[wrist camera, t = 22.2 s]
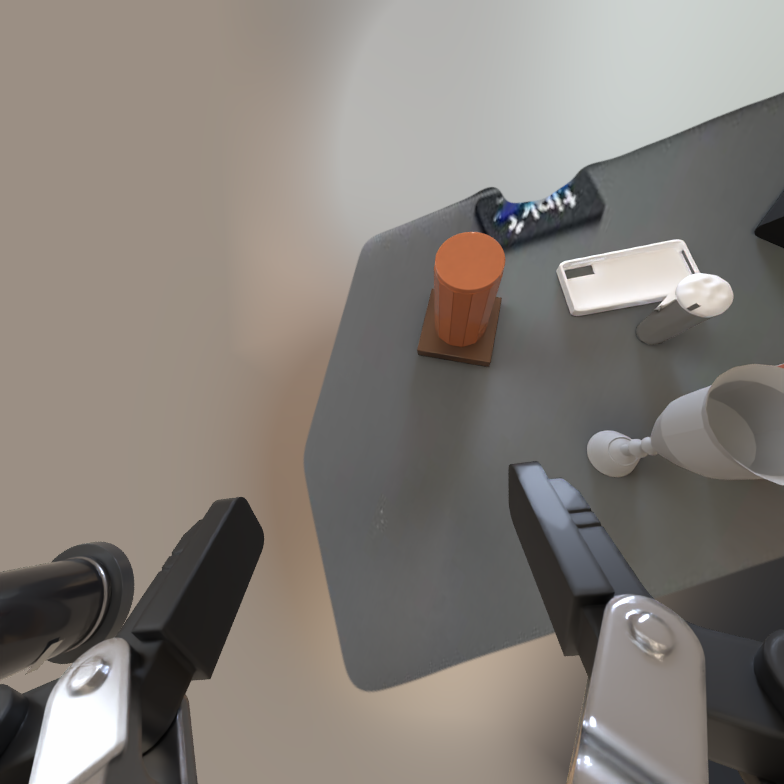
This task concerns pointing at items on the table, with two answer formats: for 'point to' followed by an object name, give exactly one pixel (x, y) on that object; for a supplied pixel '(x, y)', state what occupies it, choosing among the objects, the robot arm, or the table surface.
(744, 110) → the table surface
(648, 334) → the milkshake
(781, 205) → the device stand
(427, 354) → the stand
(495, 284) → the cup
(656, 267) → the phone case
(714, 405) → the chalice
